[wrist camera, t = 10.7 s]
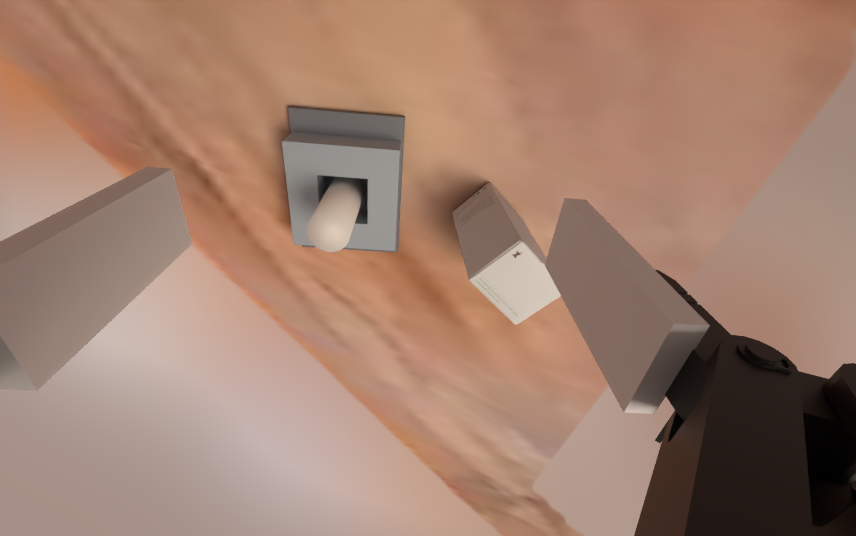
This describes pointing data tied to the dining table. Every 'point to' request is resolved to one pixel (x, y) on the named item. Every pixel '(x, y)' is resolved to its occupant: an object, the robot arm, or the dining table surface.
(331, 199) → the dowel
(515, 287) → the skincare box
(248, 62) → the dining table surface
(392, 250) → the socket
